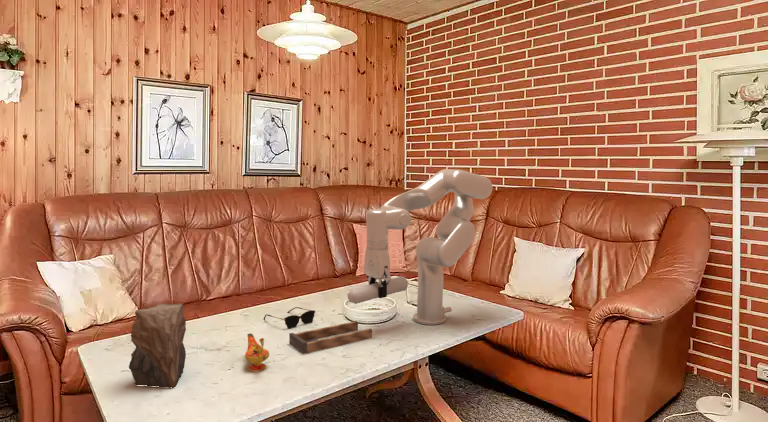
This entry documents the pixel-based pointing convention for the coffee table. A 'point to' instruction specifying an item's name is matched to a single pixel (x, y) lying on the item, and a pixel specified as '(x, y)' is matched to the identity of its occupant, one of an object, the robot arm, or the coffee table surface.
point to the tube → (376, 290)
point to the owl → (158, 345)
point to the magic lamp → (256, 354)
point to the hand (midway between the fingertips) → (377, 294)
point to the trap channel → (309, 342)
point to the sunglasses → (297, 318)
